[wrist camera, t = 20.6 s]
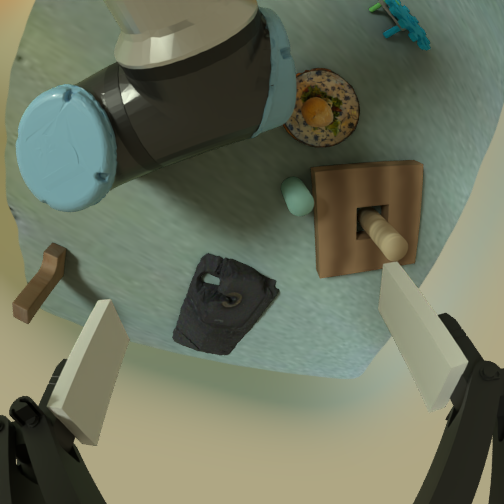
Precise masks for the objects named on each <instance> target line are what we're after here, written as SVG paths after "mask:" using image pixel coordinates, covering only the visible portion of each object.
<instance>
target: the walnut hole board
mask: <svg viewBox="0 0 504 504" xmlns="http://www.w3.org/2000/svg"><path fill="white" fill-rule="evenodd" d="M311 179H312V194H313V199H314V207H313V210H314V228H315V250H316V270H317V272H318V275H319V277H320V278H326V277H333V276H339V275H346V274H352V273H358V272H365V271H371V270H377V269H383V264H385V263H391V262H398V263H399V264H400V266H401V265H407V264H412V263H415V258H416V250H417V242H418V233H419V224H420V213H421V200H422V184H423V164H421V163H419V162H417V161H415V160H401V161H382V162H367V163H353V164H341V165H329V166H319V167H311ZM378 205H381V216H382V217H383V218H384V219H385V220H386V221H387V222H388V223H389V224H390V225H391V226H392V227H393V228H394V229H395V230H396V231H397V232H398V233H399V234H400V235H401V236H402V237H403V238H404V239H405V240H406V241H407V243H408V250H407V253H406V255H405V256H404V257H403V258H402V259H400V260H398V261H390V260H388V259H387V258H386V256H385V255H384V254H383V252H382V251H381V250H380V249H379V247H378V246H377V245H376V244H375V242H374V241H373V240H372V239H371V237H370V236H369V235H368V234H367V233H366V231H358V232H356V211H357V209H356V208H359V207H368V206H378Z"/></svg>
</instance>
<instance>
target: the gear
mask: <svg viewBox="0 0 504 504" xmlns="http://www.w3.org/2000/svg"><path fill="white" fill-rule="evenodd" d="M378 1H379V3H377V4H376V5H374V6H373V7H371V8H369V10H370V12H374V11H375V10H377V9H378V8H380V7H381V6H383V8H384V9H385V10H386V11H387V13H388V14H389V15H390V16H391V18H392V19H393V20H394V22H395V23H396V24H397V25H396V26H394V27H392V28H391V29H389V30H387V31H385V32H384V33H383V35H384V37H385V38H388V37H390V36H392V35H394V34H395V33H397V32H399V31H401V30H402V31H405V30H408V31H409V32H410V33H409V34H408V36H409V37H410V39H411V40H412V41H413V42H414V41H416V40H417V41H418V42H417V45H418V46H419V47H420V48H421V49H422V50H426V51H427V50H429V49H431V47H430V46H429V44H430V41H429V40H428V38H427V37H426V36H425V35H426V33H425V31H424V29H423V28H421V27H420V26H419V25H418V23H419V22H418V20H417V19H416V17H415V16H414V17H413V16H411V15H410V14H409V13H408V12H410V11H409V9H408V8H407V7H406V6H405V5H404V6H401V2H400V1H399V0H378ZM389 6H390V8H389Z"/></svg>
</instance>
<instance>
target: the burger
mask: <svg viewBox="0 0 504 504" xmlns="http://www.w3.org/2000/svg"><path fill="white" fill-rule="evenodd" d="M359 114H360V107H359V101H358V98H357V95H356V93H355V91H354V89H353V87H352V86H351V85H350V84H349V83H348V82H346V81H345V80H344V79H343V78H342V77H341V76H339V75H338V74H336V73H334V72H332V71H331V70H329V69H325V68H314V69H311V70H310V71H309V70H305V72H303V73H298V74H297V75H296V103H295V108H294V111H293V113H292V115H291V117H290V118H289V120H288V121H287V122H286V123H284V124H283V126H284V127H285V129H286V130H287V132H288V133H289V134H290V135H291V136H292V137H293V138H295V139H296V140H298V141H299V142H301V143H304V144H306V145H308V146H312V147H317V148H322V147H331V146H334V145H337V144H339V143H341V142H343V141H345V140H346V139H347V138H348V137H349V136H350V135H351V134H352V133H353V131H354V130H355V129H356V126H357V124H358V120H359Z"/></svg>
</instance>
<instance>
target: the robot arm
mask: <svg viewBox="0 0 504 504" xmlns="http://www.w3.org/2000/svg"><path fill="white" fill-rule="evenodd" d="M103 1H104V3H105V4H106V6H107V7H108V9H109V11H110V12H111V14H112V15H113V17H114V19H115V20H116V22H117V24H118V25H119V27H120V28H121V33H120V35H119V38H118V41H117V43H116V46H115V50H114V56H115V58H116V60H117V62H116V63H114V64H112V65H109V66H108V67H106V68H104V69H102V70H100V71H98V72H97V73H95V74H93V75H91V76H90V77H88V78H86V79H84V80H83V81H81V82H79V83H77V84H75V85H71V84H64V85H59V86H57V87H56V88H52V89H50V90H47V91H45V92H43V93H42V94H40V95H39V96H38V97H36V98H35V99H34V100H33V101H32V102H31V103H30V105H29V106H28V108H27V109H26V111H25V112H24V114H23V116H22V118H21V121H20V124H19V127H18V134H19V135H18V139H17V141H16V156H17V161H18V166H19V169H20V172H21V175H22V177H23V179H24V181H25V183H26V185H27V186H28V188H29V189H30V191H31V192H32V193H33V194H34V195H35V197H37V198H38V199H39V200H40V201H41V202H43V203H46V204H48V205H50V207H51V208H53V209H55V210H58V211H63V212H76V211H80V210H83V209H86V208H88V207H89V206H92V205H95V204H97V203H99V202H100V201H101V199H102V198H104V197H105V196H106V194H107V193H108V192H109V191H110V190H112V189H114V188H116V187H118V186H120V185H122V184H124V183H126V182H128V181H131V180H133V179H135V178H138V177H140V176H142V175H145V174H147V173H150V172H152V171H154V170H157V169H159V168H162V167H164V166H168V165H171V164H174V163H176V162H179V161H182V160H185V159H187V158H190V157H193V156H196V155H199V154H202V153H205V152H207V151H210V150H213V149H216V148H220V147H223V146H226V145H229V144H232V143H235V142H238V141H242V140H245V139H250V138H254V137H256V136H258V135H259V134H260V133H263V132H265V131H268V130H271V129H273V128H276V127H279V126H281V125H283V124H284V123H286V122H287V121H288V120H289V118H290V117H291V115H292V113H293V111H294V108H295V103H296V72H295V65H294V60H293V58H292V57H291V55H290V43H289V39H288V36H287V33H286V31H285V28H284V26H283V24H282V22H281V20H280V18H279V17H278V16H277V14H276V13H275V12H274V11H273V10H271V9H268V8H261V7H258V4H257V1H256V0H103ZM378 310H379V312H380V314H381V316H382V318H383V320H384V322H385V323H386V325H387V327H388V329H389V331H390V333H391V335H392V337H393V339H394V341H395V343H396V345H397V346H398V348H399V351H400V353H401V355H402V357H403V359H404V361H405V362H406V364H407V366H408V369H409V371H410V373H411V375H412V377H413V379H414V381H415V383H416V385H417V387H418V390H419V392H420V394H421V396H422V398H423V400H424V403H425V405H426V407H427V409H428V412H429V413H431V412H433V411H436V410H439V409H442V408H444V407H446V405H447V403H448V401H449V399H451V401H452V403H453V405H454V406H453V407H452V409H451V411H450V412H449V414H448V416H447V417H446V420H448V421H447V424H446V427H445V430H444V433H443V436H442V439H441V441H440V444H439V447H438V449H437V452H436V454H435V457H434V459H433V462H432V464H431V467H430V469H429V472H428V474H427V476H426V478H425V480H424V482H423V485H422V487H421V489H420V491H419V493H418V495H417V497H416V499H415V501H414V503H413V504H472V501H473V499H474V496H475V493H476V490H477V487H478V485H479V482H480V478H481V475H482V472H483V469H484V466H485V462H486V459H487V455H488V451H489V447H490V443H491V439H492V435H493V451H492V452H493V453H492V454H493V455H492V473H491V486H490V496H489V504H504V368H503V369H501V368H500V367H498V366H497V365H496V364H495V363H493V362H491V361H484V360H483V358H482V357H481V355H480V354H479V352H478V351H477V349H476V348H475V347H474V345H473V343H472V342H471V340H470V339H469V338H468V336H466V333H465V332H464V331H463V329H461V327H460V325H459V324H458V322H457V321H456V319H454V318H453V317H451V316H450V315H449V314H447V313H444V314H440V315H437V314H436V312H435V311H434V310H433V308H432V307H431V305H430V304H429V303H428V301H427V300H426V299H425V297H424V296H423V294H422V293H421V292H420V290H419V289H418V288H417V286H416V285H415V284H414V282H413V281H412V280H411V278H410V277H409V276H408V275H407V273H406V272H405V271H404V269H403V268H402V267H401V266H400V264H399V263H398V262H391V263H385V264H383V270H382V280H381V289H380V298H379V306H378ZM129 341H130V339H129V337H128V335H127V333H126V331H125V329H124V327H123V325H122V323H121V321H120V318H119V316H118V314H117V312H116V310H115V307H114V305H113V303H112V301H111V299H107V300H98V301H97V303H96V305H95V307H94V309H93V311H92V312H91V314H90V316H89V318H88V320H87V322H86V324H85V326H84V328H83V330H82V331H81V334H80V336H79V337H78V340H77V341H76V343H75V345H74V347H73V349H72V351H71V353H70V356H69V358H68V359H63V360H62V361H61V362H60V363H59V365H58V366H57V367H56V369H55V371H54V373H53V375H52V377H51V379H50V381H49V384H48V385H47V388H46V390H45V392H44V394H43V397H42V399H41V401H40V404H39V406H37V404H36V403H35V402H34V401H33V400H32V399H31V398H30V397H28V396H22V397H19V398H18V399H16V401H14V402H13V404H12V405H11V407H10V410H9V415H10V416H11V417H12V418H13V419H14V420H15V421H14V422H11V421H10V420H9V419H8V418H7V417H6V416H3V415H0V504H106V502H105V500H104V499H103V497H102V495H101V493H100V491H99V490H98V488H97V486H96V484H95V483H94V481H93V479H92V477H91V475H90V473H89V471H88V469H87V467H86V465H85V463H84V461H83V459H82V457H81V455H80V453H79V451H78V449H77V447H76V446H75V444H74V443H73V442H74V439H75V437H76V438H77V439H78V440H79V441H80V442H81V443H82V444H86V445H93V446H97V443H98V440H99V436H100V432H101V429H102V425H103V421H104V418H105V415H106V411H107V408H108V404H109V401H110V398H111V395H112V392H113V389H114V385H115V382H116V379H117V376H118V373H119V369H120V367H121V364H122V361H123V358H124V355H125V352H126V349H127V346H128V343H129ZM16 459H17V465H16Z"/></svg>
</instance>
